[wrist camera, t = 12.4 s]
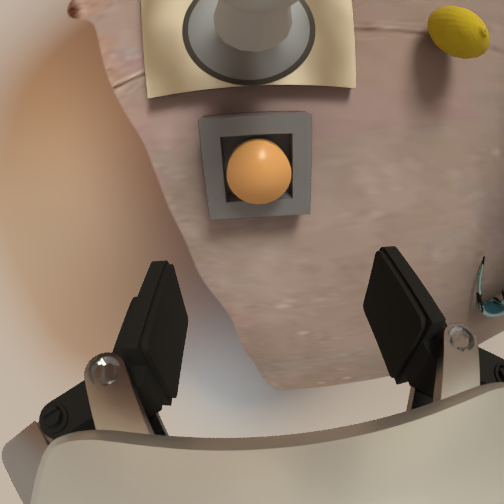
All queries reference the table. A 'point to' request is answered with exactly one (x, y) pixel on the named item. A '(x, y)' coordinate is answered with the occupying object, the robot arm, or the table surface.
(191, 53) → the picture board
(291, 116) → the button housing
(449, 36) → the lemon
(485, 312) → the sunglasses
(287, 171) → the button
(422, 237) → the table surface
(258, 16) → the salt shaker
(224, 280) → the table surface
